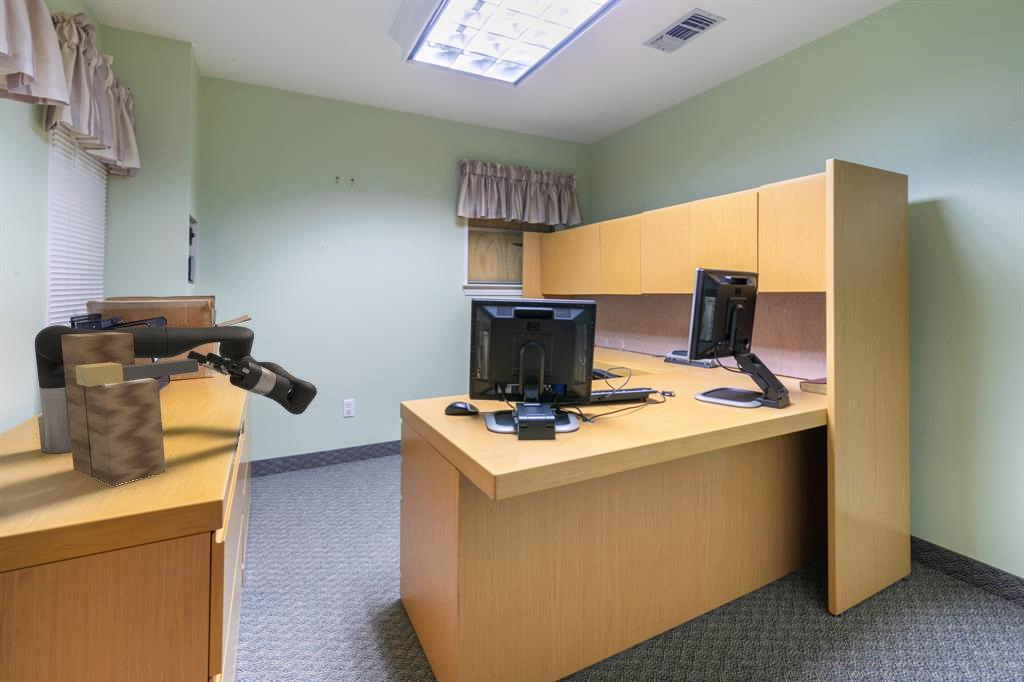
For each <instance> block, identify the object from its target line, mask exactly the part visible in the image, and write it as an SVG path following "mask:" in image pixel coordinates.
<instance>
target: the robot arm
mask: <svg viewBox="0 0 1024 682" xmlns="http://www.w3.org/2000/svg"><path fill="white" fill-rule="evenodd" d="M106 332H120V333H133V344H134V357H135V359H170V358H175V357H178V356H181V355H182V354H185V353H187V352H188V354H187V356H186V359H196V360H198V366H200V367H203V368H206V369H209V370H210V371H213V372H215V373H219V374H221V375H223V376H229V383H230V384H231V385H232V386H235V387H237V388H240V389H242V390H244V391H247V392H249V393H253V394H255V395H258V396H259V395H260V396H262V397H265V398H268V399H270V400H272V401H274V402H276V403H277V404H279V405H280V406H281V407H282V408H283V409H285V410H286V411H287V412H288V413H290V414H291V415H296V416H297V415H301V414H303V413H304V412H305V411H306V410H307V408H308V407H309V406H310V404H311V403H312V401H313V400H314V399H315V398H316V396H317V394H318V389H317V387H316V385H315V384H313V383H312V382H309V381H306V380H303V379H300V378H298V377H296V376H294V375H292V374H291V373H289V372H288V370H286V369H285V368H283V367H282V366H281V365H279V364H277V363H274V362H270V361H258V360H256V358H255V359H254V357H253V356H252V355H251V353H252V348H253V344H254V340H255V332H254V331H253V330H252V329H250V328H249V327H246V326H239V325H221V326H207V327H206V326H205V327H204V326H203V327H169V326H139V327H129V328H128V327H127V328H119V329H104V330H103V329H88V328H77V327H70V326H67V325H62V324H60V325H59V324H55V325H50V326H46V327H44V328H42V329H41V330H40V331H39V332H38V333H37V334H36V335H35V338H34V351H35V361H36V372H37V380H38V388H39V397H40V404H41V406H40V407H41V415H39V416H38V417H37V421H38V422H37V423H38V430H39V431H38V433H39V434H38V435H39V442H40V452H41V453H48V454H61V453H68V452H69V453H70V452H72V446H71V435H70V425H69V414H68V404H67V393H66V383H65V372H64V362H63V351H62V341H61V335H70V334H88V333H106ZM214 343H215V344H218V343H219V347H218V353H219V355H218V354H215V353H213V352H208V353H207V354H206V355H204V354H202V353H199V352H197V351H194V350H193V349H196V348H198V347H200V346H205V345H208V344H214ZM207 362H208V363H207Z"/></svg>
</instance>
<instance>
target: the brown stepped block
mask: <svg viewBox="0 0 1024 682" xmlns="http://www.w3.org/2000/svg"><path fill="white" fill-rule="evenodd" d="M61 341H62V351H63V362H64V372H65V383H66V393H67V404H68V414H69V425H70V435H71V446H72V451H71V454H72V456H71V457H72V467H73V470H74V471H75V472H78V473H80V474H83V475H84V476H87V477H89V476H90V477H89V478H93V479H94V478H95V479H94V480H96V479H97V480H96V481H98V480H100V481H99V482H101V481H102V482H101V483H103V482H104V483H103V484H105V483H106V485H107V484H109V485H108V486H110V485H111V486H110V487H112V486H115V487H117V486H116V485H119V484H121V483H125V482H129V481H132V480H136V479H140V478H143V479H146V478H145V477H147V478H149V477H148V476H150V477H153V476H152V475H154V476H157V475H160V473H161V474H164V473H166V459H165V448H164V447H165V445H164V434H163V420H162V408H161V395H160V394H161V392H160V382H159V380H157V379H155V378H146V379H138V380H131V381H123V382H121V383H113V384H106V385H98V386H90V387H88V386H83V385H79V384H77V377H76V366H78V365H88V364H98V363H108V362H111V363H118V364H122V366H126V365H136V360H135V359H136V358H135V357H134V344H133V333H120V332H106V333H88V334H70V335H61ZM156 474H157V475H156ZM140 480H141V479H140ZM136 481H137V480H136ZM129 483H130V482H129ZM119 486H120V485H119Z"/></svg>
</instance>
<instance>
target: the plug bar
mask: <svg viewBox="0 0 1024 682" xmlns="http://www.w3.org/2000/svg"><path fill="white" fill-rule="evenodd" d="M199 371H200V370H199V363H198V360H196V359H188V358H184V359H176V360H166V361H165V360H164V361H157V362H156V361H155V362H148V363H147V362H146V363H135V365H126V366H122V364H118V363H111V362H108V363H98V364H88V365H78V366H76V377H77V384H79V385H83V386H88V387H90V386H98V385H106V384H113V383H121V382H123V381H131V380H138V379H146V378H152V379H155V378H161V377H168V376H169V377H170V376H177V375H183V374H191V373H197V372H199Z"/></svg>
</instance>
